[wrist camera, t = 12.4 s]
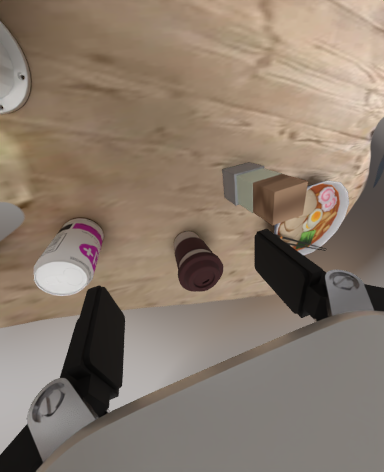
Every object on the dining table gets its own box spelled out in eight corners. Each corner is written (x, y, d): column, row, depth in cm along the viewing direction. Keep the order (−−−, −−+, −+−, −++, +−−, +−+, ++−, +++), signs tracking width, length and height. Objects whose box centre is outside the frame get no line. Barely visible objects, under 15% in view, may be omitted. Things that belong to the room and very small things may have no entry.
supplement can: (99, 215, 39) (83, 254, 27) (107, 246, 43) (97, 292, 31) (56, 218, 37) (18, 262, 25) (69, 251, 41) (42, 303, 29)
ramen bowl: (340, 189, 55) (369, 197, 49) (297, 249, 64) (317, 263, 57) (285, 160, 45) (312, 165, 38) (243, 237, 54) (259, 252, 47)
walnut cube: (252, 182, 32) (274, 192, 27) (281, 173, 33) (308, 181, 28) (252, 212, 35) (272, 225, 30) (279, 203, 36) (302, 214, 31)
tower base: (222, 169, 42) (234, 174, 37) (248, 162, 43) (264, 166, 38) (224, 197, 46) (235, 205, 41) (249, 190, 47) (263, 197, 42)
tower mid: (236, 175, 37) (252, 182, 32) (262, 168, 38) (282, 173, 33) (237, 203, 40) (252, 213, 35) (262, 195, 41) (279, 204, 36)
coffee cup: (170, 225, 45) (184, 261, 33) (206, 226, 48) (231, 259, 36) (167, 257, 50) (178, 299, 37) (200, 256, 53) (220, 294, 40)
